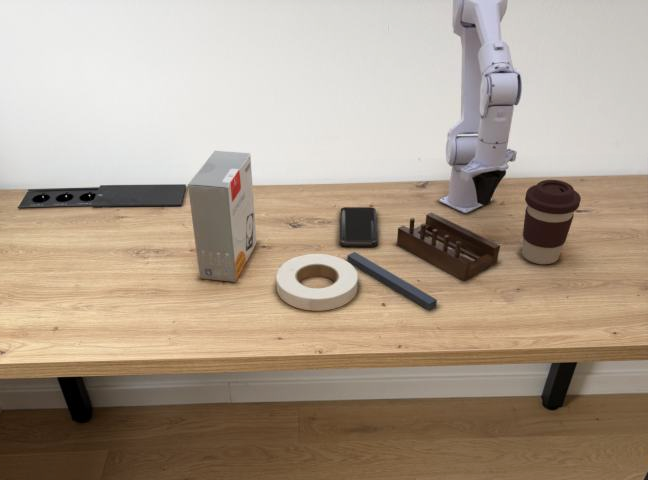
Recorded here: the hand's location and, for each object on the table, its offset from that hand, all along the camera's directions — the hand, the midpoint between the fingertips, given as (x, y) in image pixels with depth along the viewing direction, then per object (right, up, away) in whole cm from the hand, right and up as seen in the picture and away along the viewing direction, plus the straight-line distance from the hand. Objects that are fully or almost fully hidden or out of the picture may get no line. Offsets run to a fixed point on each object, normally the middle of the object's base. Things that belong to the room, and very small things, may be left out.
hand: (483, 203), depth 138 cm
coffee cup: (+11, -11, -1) cm, 16 cm away
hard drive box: (-51, -12, -1) cm, 53 cm away
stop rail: (-20, -17, -8) cm, 27 cm away
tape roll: (-34, -18, -9) cm, 39 cm away
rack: (-8, -10, 0) cm, 13 cm away
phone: (-25, -4, +8) cm, 26 cm away
